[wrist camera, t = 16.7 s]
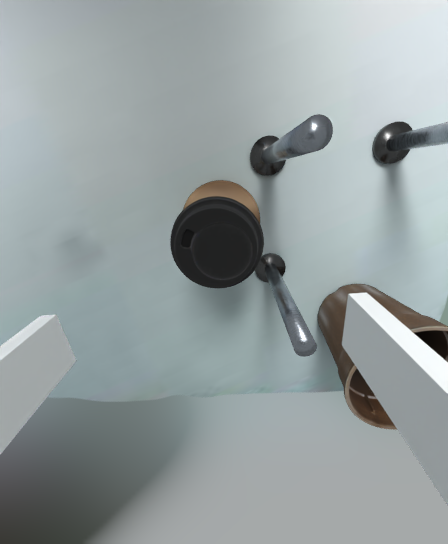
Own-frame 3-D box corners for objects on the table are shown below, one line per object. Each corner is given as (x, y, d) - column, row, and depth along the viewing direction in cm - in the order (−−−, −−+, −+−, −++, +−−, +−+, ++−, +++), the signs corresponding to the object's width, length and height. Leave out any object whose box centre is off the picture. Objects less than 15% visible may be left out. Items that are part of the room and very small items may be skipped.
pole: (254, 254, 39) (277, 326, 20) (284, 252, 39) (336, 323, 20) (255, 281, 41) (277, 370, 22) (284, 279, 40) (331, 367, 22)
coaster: (177, 184, 35) (175, 184, 34) (257, 176, 34) (258, 176, 33) (189, 259, 39) (188, 262, 38) (260, 254, 39) (261, 256, 38)
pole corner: (249, 138, 32) (276, 89, 14) (285, 134, 32) (362, 79, 14) (251, 177, 34) (276, 179, 16) (285, 173, 34) (352, 172, 15)
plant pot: (307, 274, 40) (353, 333, 25) (405, 266, 39) (513, 323, 24) (304, 349, 46) (339, 432, 31) (388, 344, 45) (466, 427, 30)
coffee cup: (186, 192, 34) (156, 204, 20) (250, 185, 34) (264, 192, 20) (196, 253, 38) (176, 298, 24) (254, 248, 37) (268, 290, 23)
